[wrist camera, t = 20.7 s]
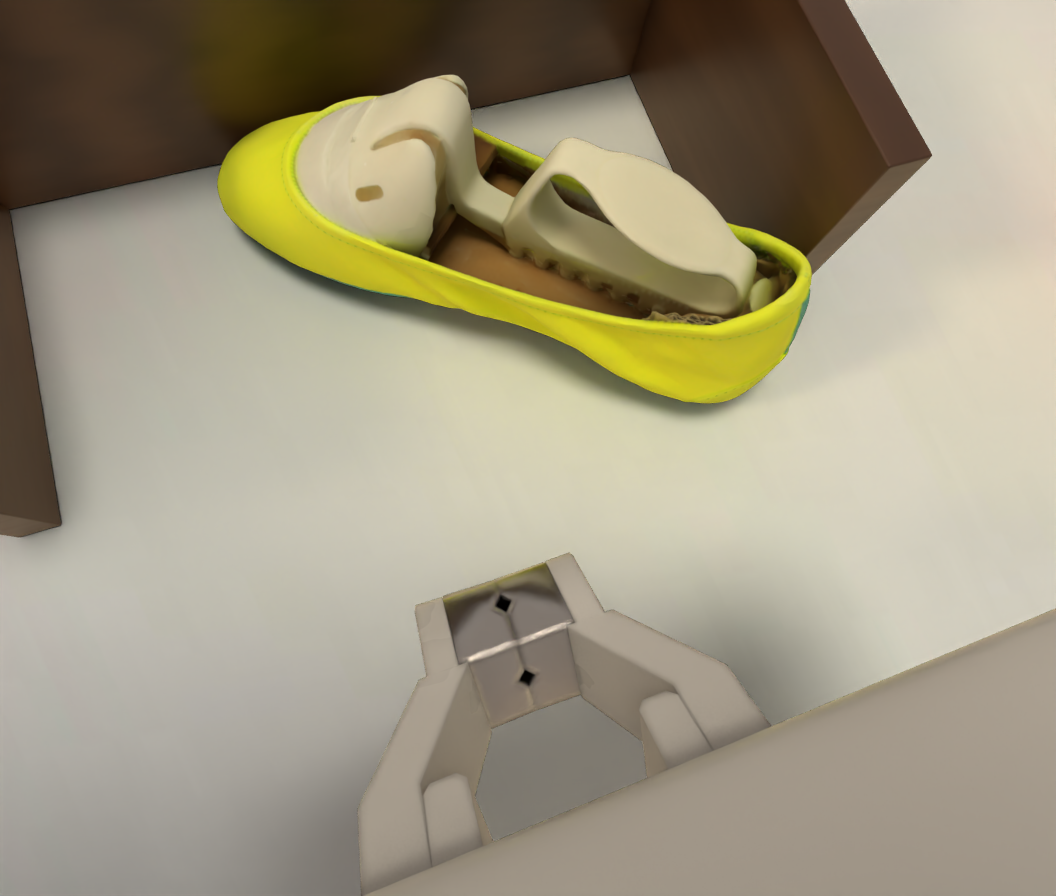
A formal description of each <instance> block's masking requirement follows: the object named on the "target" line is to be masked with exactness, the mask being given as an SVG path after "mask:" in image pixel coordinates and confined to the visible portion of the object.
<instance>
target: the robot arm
mask: <svg viewBox="0 0 1056 896" xmlns="http://www.w3.org/2000/svg"><path fill="white" fill-rule="evenodd" d="M415 616H416V621H417V627H418V632H419V638H420V643H421V649H422V654H423V660H424V665H425V670H426V676H427V677H425V678H422V679H420V680H418V682H417V684H416V686H415V688H414V691H413V693H412V695H411V697H410V699H409V701H408V703H407V705H406V707H405V709H404V712H403V714H402V716H401V718H400V720H399V722H398V724H397V726H396V728H395V730H394V733H393V735H392V737H391V739H390V741H389V743H388V745H387V747H386V749H385V752H384V754H383V756H382V758H381V760H380V762H379V764H378V766H377V768H376V770H375V773H374V775H373V777H372V779H371V781H370V783H369V785H368V787H367V789H366V791H365V794H364V796H363V798H362V800H361V802H360V804H359V806H358V808H357V812H358V834H359V856H360V878H361V896H1056V609H1053V610H1051V611H1048V612H1046V613H1044V614H1041V615H1039V616H1036V617H1034V618H1032V619H1029V620H1027V621H1024V622H1022V623H1020V624H1017V625H1015V626H1012V627H1010V628H1007V629H1005V630H1003V631H1000V632H998V633H995V634H993V635H991V636H988V637H986V638H983V639H981V640H979V641H976V642H974V643H971V644H969V645H966V646H964V647H962V648H959V649H957V650H954V651H952V652H950V653H947V654H945V655H942V656H940V657H938V658H935V659H933V660H930V661H928V662H925V663H923V664H921V665H918V666H916V667H913V668H911V669H909V670H906V671H904V672H901V673H899V674H897V675H894V676H892V677H889V678H887V679H884V680H882V681H880V682H877V683H875V684H872V685H870V686H868V687H865V688H863V689H860V690H858V691H855V692H853V693H851V694H848V695H846V696H843V697H841V698H839V699H836V700H834V701H831V702H829V703H827V704H824V705H822V706H819V707H817V708H814V709H812V710H810V711H807V712H805V713H802V714H800V715H798V716H795V717H793V718H790V719H788V720H786V721H783V722H781V723H778V724H776V725H774V726H771V725H770V723H769V722H768V721H767V719H766V718H765V717H764V715H763V714H762V712H761V711H760V710H759V708H758V707H757V705H756V704H755V703H754V701H753V700H752V699H751V697H750V696H749V694H748V693H747V692H746V690H745V689H744V687H743V686H742V685H741V683H740V682H739V681H738V679H737V678H736V676H735V675H734V674H733V672H732V671H731V669H730V668H729V667H728V665H726V664H724V663H722V662H720V661H718V660H716V659H714V658H712V657H710V656H708V655H706V654H704V653H701V652H699V651H697V650H695V649H693V648H691V647H689V646H687V645H685V644H683V643H681V642H679V641H677V640H675V639H672V638H670V637H668V636H666V635H664V634H662V633H660V632H658V631H656V630H654V629H652V628H650V627H648V626H646V625H644V624H641V623H639V622H637V621H635V620H633V619H631V618H629V617H627V616H625V615H623V614H621V613H619V612H617V611H615V610H609V611H606V612H605V611H604V610H603V608H602V606H601V604H600V602H599V601H598V599H597V597H596V595H595V594H594V592H593V590H592V588H591V586H590V585H589V583H588V581H587V579H586V578H585V576H584V574H583V572H582V571H581V569H580V567H579V565H578V563H577V562H576V560H575V558H574V556H573V555H572V554H570V553H566V554H564V555H561V556H558V557H555V558H553V559H550V560H547V561H545V562H542V563H539V564H536V565H534V566H531V567H528V568H525V569H522V570H519V571H517V572H514V573H511V574H508V575H505V576H502V577H500V578H497V579H494V580H492V581H488V582H485V583H482V584H479V585H476V586H473V587H470V588H466V589H463V590H460V591H457V592H454V593H451V594H447V595H444V596H443V597H440V598H437V599H434V600H431V601H427V602H424V603H421V604H418V605H415ZM579 695H581V696H582V698H584V699H585V700H586V701H588V702H589V703H590V704H592V705H593V706H595V707H596V708H597V709H599V710H600V711H601V712H603V713H604V714H605V715H607V716H608V717H609V718H611V719H612V720H614V721H615V722H616V723H618V724H619V725H620V726H622V727H623V728H624V729H626V730H627V731H628V732H630V733H631V734H633V735H634V736H635V737H637V738H638V739H639V740H641V741H642V742H643V749H644V758H645V766H646V775H647V778H646V779H644V780H641V781H639V782H636V783H634V784H632V785H629V786H627V787H624V788H622V789H620V790H617V791H615V792H612V793H610V794H608V795H605V796H603V797H600V798H598V799H596V800H593V801H591V802H588V803H586V804H583V805H581V806H579V807H576V808H574V809H571V810H569V811H567V812H564V813H562V814H559V815H557V816H554V817H552V818H550V819H547V820H545V821H542V822H540V823H538V824H535V825H533V826H530V827H528V828H526V829H523V830H521V831H518V832H516V833H513V834H511V835H509V836H506V837H504V838H501V839H499V840H497V841H494V842H493V839H492V837H491V834H490V832H489V830H488V827H487V825H486V822H485V820H484V817H483V815H482V812H481V810H480V808H479V805H478V803H477V800H476V798H475V795H476V791H477V787H478V783H479V780H480V776H481V772H482V768H483V764H484V761H485V757H486V753H487V749H488V745H489V742H490V738H491V734H492V731H491V729H493V728H495V727H498V726H500V725H503V724H505V723H507V722H510V721H512V720H515V719H517V718H519V717H522V716H524V715H527V714H529V713H531V712H534V711H536V710H539V709H542V708H545V707H548V706H551V705H553V704H556V703H559V702H562V701H565V700H568V699H570V698H573V697H576V696H579Z"/></svg>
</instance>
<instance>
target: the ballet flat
mask: <svg viewBox="0 0 1056 896" xmlns="http://www.w3.org/2000/svg"><path fill="white" fill-rule="evenodd" d="M217 188H218V193H219V197H220V200H221V203H222V205H223V208H224V211H225V212H226V214H227V215H228V216H229V217H230V219H231V220H232V221H233V222H234V223H235V224H236V225H237V226H238V227H239V228H241V229H242V230H243V231H244V232H245V233H246V234H247V235H249V236H250V237H252V238H253V239H255V240H256V241H257V242H259V243H260V244H262V245H263V246H265V247H266V248H267V249H269V250H271V251H273V252H274V253H276V254H278V255H280V256H281V257H283V258H285V259H286V260H288V261H290V262H291V263H293V264H295V265H297V266H300V267H302V268H305V269H307V270H310V271H312V272H314V273H317V274H319V275H321V276H324V277H326V278H329V279H331V280H334V281H337V282H340V283H343V284H346V285H349V286H352V287H355V288H359V289H362V290H366V291H370V292H375V293H380V294H384V295H390V296H398V297H405V298H414V299H418V300H422V301H425V302H428V303H430V304H434V305H439V306H444V307H448V308H460V309H463V310H465V311H467V312H469V313H472V314H475V315H480V316H484V317H488V318H493V319H497V320H502V321H506V322H509V323H513V324H516V325H519V326H522V327H525V328H527V329H530V330H533V331H536V332H539V333H542V334H544V335H547V336H550V337H552V338H554V339H556V340H558V341H561V342H563V343H565V344H567V345H569V346H571V347H574V348H576V349H578V350H579V351H581V352H582V353H583V354H585V355H586V356H588V357H589V358H591V359H592V360H594V361H595V362H597V363H598V364H600V365H601V366H603V367H604V368H606V369H607V370H609V371H611V372H612V373H614V374H616V375H618V376H619V377H622V378H624V379H626V380H628V381H630V382H632V383H635V384H637V385H639V386H641V387H642V388H644V389H647V390H649V391H652V392H654V393H657V394H661V395H664V396H667V397H670V398H674V399H678V400H681V401H683V402H696V403H719V402H724V401H728V400H730V399H733V398H736V397H738V396H740V395H741V394H743V393H744V392H746V391H747V390H749V389H750V388H752V387H753V386H754V385H755V384H757V383H758V382H759V381H760V380H761V379H763V378H764V377H765V376H766V375H767V374H768V373H769V372H770V371H771V370H772V369H773V368H774V367H775V366H776V365H777V364H779V363H780V362H781V361H782V360H783V359H784V357H785V356H786V355H787V353H788V351H789V346H790V345H791V343H792V341H793V340H794V338H795V335H796V333H797V330H798V328H799V326H800V323H801V321H802V319H803V316H804V314H805V311H806V309H807V306H808V302H809V296H810V288H809V287H810V285H811V277H812V272H811V266H810V264H809V262H808V260H807V258H806V257H805V256H804V255H803V254H802V253H801V252H800V251H799V250H797V249H796V248H795V247H793V246H791V245H789V244H787V243H786V242H784V241H782V240H780V239H778V238H776V237H773V236H771V235H769V234H767V233H764V232H761V231H758V230H755V229H751V228H746V227H740V226H737V225H733V224H729V223H726V222H725V220H724V219H723V217H722V216H721V215H720V213H719V212H718V211H717V209H716V208H715V207H714V206H713V205H712V204H711V202H710V201H709V200H708V199H707V198H706V197H705V196H704V195H703V194H701V193H700V192H699V191H698V190H697V189H696V188H695V187H693V186H692V185H691V184H690V183H689V182H688V181H686V180H685V179H683V178H682V177H680V176H679V175H677V174H676V173H674V172H673V171H671V170H669V169H667V168H665V167H663V166H661V165H659V164H657V163H655V162H653V161H651V160H648V159H645V158H642V157H639V156H635V155H632V154H628V153H621V152H614V151H609V150H603V149H601V148H599V147H597V146H595V145H593V144H591V143H589V142H586V141H583V140H580V139H577V138H566V139H564V140H562V141H560V142H559V143H558V145H557V146H556V147H555V148H554V149H553V150H552V152H551V153H550V154H549V155H548V157H547V158H546V159H543V158H541V157H539V156H536V155H534V154H531V153H529V152H527V151H525V150H523V149H520V148H518V147H516V146H514V145H511V144H509V143H507V142H504V141H502V140H500V139H497V138H495V137H493V136H491V135H489V134H487V133H484V132H482V131H480V130H478V129H476V128H474V127H473V125H472V117H471V110H470V105H469V102H468V90H467V87H466V85H465V83H464V81H463V80H462V79H461V78H459V77H458V76H456V75H442V76H438V77H434V78H428V79H424V80H421V81H418V82H416V83H414V84H412V85H410V86H408V87H406V88H404V89H401V90H399V91H397V92H394V93H390V94H386V95H383V96H365V97H357V98H353V99H348V100H345V101H341V102H338V103H335V104H333V105H331V106H329V107H327V108H326V109H324V110H322V111H318V112H309V113H305V114H301V115H296V116H292V117H288V118H284V119H281V120H277V121H274V122H271V123H268V124H266V125H264V126H262V127H260V128H258V129H256V130H255V131H253V132H251V133H249V134H248V135H246V136H245V137H243V138H242V139H241V140H240V141H239V142H238V143H236V144H235V145H234V146H233V147H232V149H231V150H230V151H229V152H228V153H227V155H226V157H225V159H224V161H223V163H222V166H221V168H220V171H219V175H218V185H217Z"/></svg>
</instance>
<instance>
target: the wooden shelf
mask: <svg viewBox="0 0 1056 896" xmlns="http://www.w3.org/2000/svg"><path fill="white" fill-rule="evenodd" d="M629 74H631V78H632V80H633V82H634V84H635V87H636V89H637V91H638V93H639V95H640V98H641V100H642V102H643V104H644V106H645V109H646V111H647V113H648V115H649V118H650V120H651V122H652V124H653V126H654V129H655V131H656V133H657V135H658V137H659V140H660V142H661V144H662V146H663V148H664V151H665V153H666V155H667V157H668V160H669V162H670V164H671V166H672V168H673V171H674V173H676V174H677V175H679V176H680V177H682V178H683V179H685V180H686V181H688V182H689V183H690V184H691V185H692V186H693V187H695V188H696V189H697V190H698V191H699V192H700V193H701V194H703V195H704V196H705V197H706V198H707V199H708V200H709V201H710V202H711V204H712V205H713V206H714V207H715V208H716V209H717V211H718V212H719V213H720V215H721V216H722V217H723V219H724V220H725V222H726V223H729V224H733V225H737V226H740V227H746V228H751V229H755V230H758V231H761V232H764V233H767V234H769V235H771V236H773V237H776V238H778V239H780V240H782V241H784V242H786V243H787V244H789V245H791V246H793V247H795V248H796V249H797V250H799V251H800V252H801V253H802V254H803V255H804V256H805V257H806V258H807V260H808V262H809V264H810V266H811V272H812V274H814V273H815V272H816V271H817V270H818V269H819V268H820V267H821V266H822V265H823V264H824V263H825V262H826V261H827V260H828V259H829V258H830V257H831V256H832V255H833V254H834V253H835V252H836V251H837V250H838V249H839V248H840V247H841V246H842V245H843V244H844V243H845V242H846V241H847V240H848V239H849V238H850V237H851V236H852V235H853V234H854V233H855V232H856V231H857V230H858V229H859V228H860V227H861V226H862V225H863V224H864V223H865V222H866V221H867V220H868V219H869V218H870V217H871V216H872V215H873V214H874V213H875V212H876V211H877V210H878V209H879V208H880V207H881V206H882V205H883V204H884V203H885V202H886V201H887V200H888V199H889V198H890V197H891V196H892V195H893V194H894V193H895V192H896V191H897V190H898V189H899V188H900V187H901V186H902V185H903V184H904V183H905V182H906V181H907V180H908V179H909V178H910V177H911V176H912V175H913V174H914V173H915V172H916V171H917V170H919V169H920V168H921V167H922V166H923V165H924V164H925V163H926V162H927V161H928V160H929V159H930V158H931V156H932V154H931V152H930V150H929V148H928V146H927V145H926V143H925V141H924V139H923V138H922V136H921V134H920V132H919V131H918V129H917V127H916V125H915V124H914V122H913V120H912V118H911V117H910V115H909V113H908V111H907V109H906V108H905V106H904V104H903V102H902V101H901V99H900V97H899V95H898V94H897V92H896V90H895V88H894V87H893V85H892V83H891V81H890V79H889V78H888V76H887V74H886V72H885V71H884V69H883V67H882V65H881V64H880V62H879V60H878V58H877V57H876V55H875V53H874V51H873V50H872V48H871V46H870V44H869V42H868V41H867V39H866V37H865V35H864V34H863V32H862V30H861V28H860V27H859V25H858V23H857V21H856V20H855V18H854V16H853V14H852V12H851V11H850V9H849V7H848V5H847V4H846V2H845V0H0V535H7V536H14V537H22V536H25V535H29V534H32V533H36V532H39V531H42V530H46V529H49V528H53V527H56V526H59V525H61V521H60V515H59V509H58V503H57V497H56V491H55V485H54V479H53V473H52V467H51V461H50V455H49V449H48V443H47V436H46V430H45V424H44V418H43V412H42V406H41V400H40V394H39V388H38V382H37V376H36V370H35V364H34V358H33V352H32V346H31V340H30V334H29V328H28V322H27V316H26V309H25V303H24V297H23V291H22V285H21V279H20V273H19V267H18V261H17V255H16V249H15V243H14V237H13V231H12V225H11V219H10V213H9V210H8V209H13V208H18V207H22V206H27V205H31V204H36V203H41V202H45V201H50V200H54V199H59V198H64V197H68V196H73V195H77V194H82V193H86V192H91V191H96V190H100V189H105V188H109V187H114V186H119V185H123V184H128V183H132V182H137V181H142V180H146V179H151V178H155V177H160V176H165V175H169V174H174V173H178V172H183V171H188V170H192V169H197V168H201V167H206V166H211V165H215V164H220V163H223V161H224V159H225V157H226V155H227V153H228V152H229V151H230V150H231V149H232V147H233V146H234V145H235V144H236V143H238V142H239V141H240V140H241V139H242V138H243V137H245V136H246V135H248V134H249V133H251V132H253V131H255V130H256V129H258V128H260V127H262V126H264V125H266V124H268V123H271V122H274V121H277V120H281V119H284V118H288V117H292V116H296V115H301V114H305V113H309V112H318V111H322V110H324V109H326V108H327V107H329V106H331V105H333V104H335V103H338V102H341V101H345V100H348V99H353V98H357V97H365V96H383V95H386V94H390V93H394V92H397V91H399V90H401V89H404V88H406V87H408V86H410V85H412V84H414V83H416V82H418V81H421V80H424V79H428V78H434V77H438V76H442V75H456V76H458V77H459V78H461V79H462V80H463V81H464V83H465V85H466V87H467V90H468V102H469V105H470V109H472V108H477V107H482V106H486V105H491V104H495V103H500V102H505V101H509V100H514V99H518V98H523V97H528V96H532V95H537V94H541V93H546V92H551V91H555V90H560V89H564V88H569V87H574V86H578V85H583V84H587V83H592V82H596V81H601V80H606V79H610V78H615V77H619V76H624V75H629Z"/></svg>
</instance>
